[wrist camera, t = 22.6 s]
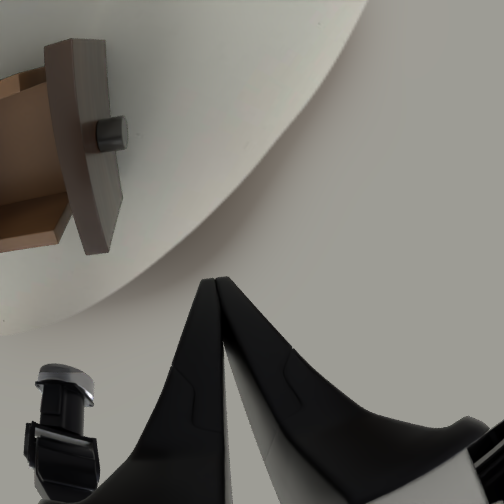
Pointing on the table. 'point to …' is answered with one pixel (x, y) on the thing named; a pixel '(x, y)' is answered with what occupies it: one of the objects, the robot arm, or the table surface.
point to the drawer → (60, 150)
